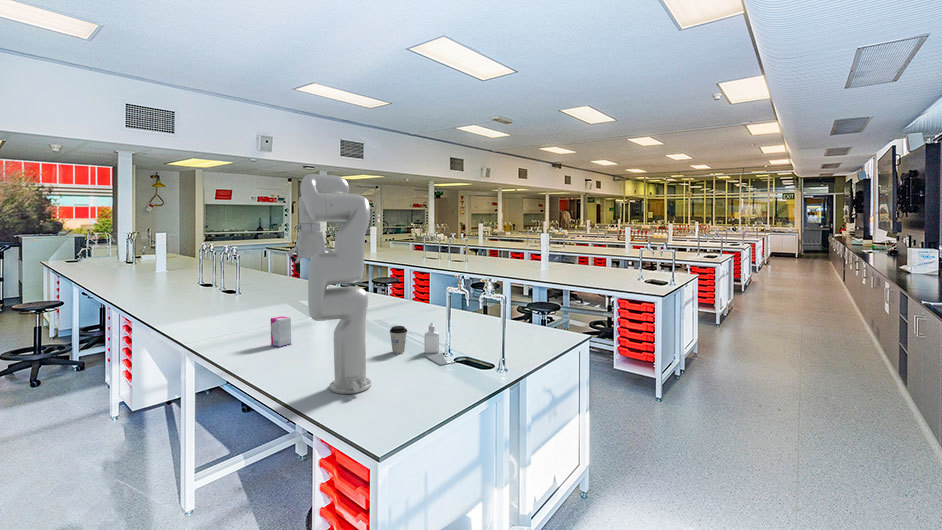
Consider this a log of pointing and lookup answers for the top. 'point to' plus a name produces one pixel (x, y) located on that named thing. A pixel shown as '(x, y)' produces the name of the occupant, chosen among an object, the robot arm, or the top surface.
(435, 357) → the mat
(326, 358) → the top surface
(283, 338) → the supplement box
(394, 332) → the coffee cup
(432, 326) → the eye dropper bottle
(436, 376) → the top surface
